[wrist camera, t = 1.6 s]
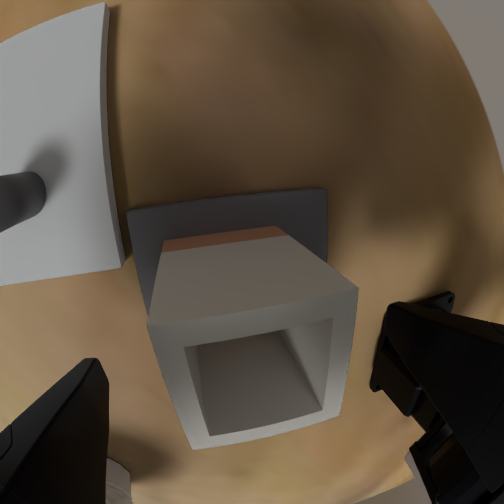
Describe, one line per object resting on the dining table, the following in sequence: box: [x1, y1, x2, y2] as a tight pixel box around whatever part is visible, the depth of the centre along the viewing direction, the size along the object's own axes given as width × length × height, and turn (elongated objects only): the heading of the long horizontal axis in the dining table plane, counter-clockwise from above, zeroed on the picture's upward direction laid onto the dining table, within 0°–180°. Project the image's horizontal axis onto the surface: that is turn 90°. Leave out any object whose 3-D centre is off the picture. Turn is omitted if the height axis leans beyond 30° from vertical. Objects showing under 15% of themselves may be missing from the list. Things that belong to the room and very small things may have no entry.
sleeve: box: [147, 226, 359, 450], centre depth 9 cm, size 4×4×6 cm
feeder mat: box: [126, 188, 327, 316], centre depth 12 cm, size 8×8×1 cm
